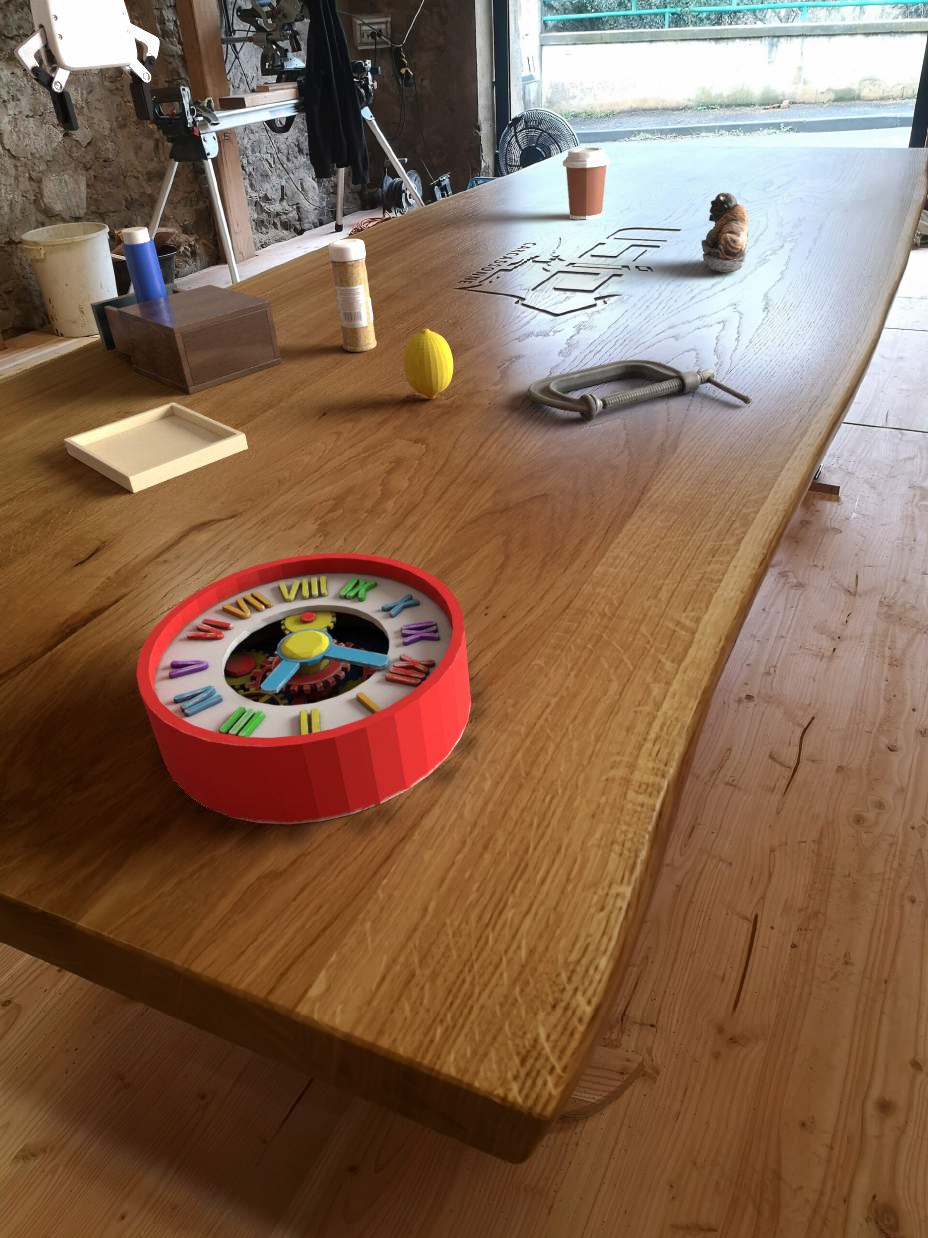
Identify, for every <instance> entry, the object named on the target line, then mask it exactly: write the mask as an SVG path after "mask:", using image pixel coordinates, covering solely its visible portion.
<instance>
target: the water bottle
mask: <svg viewBox="0 0 928 1238" xmlns="http://www.w3.org/2000/svg"><path fill="white" fill-rule="evenodd" d="M121 235H122V238H123V242H121V247H122V252H123V255H124V260H125V262H126V266H127V270H128V274H129V278H130V281H131V285H132V289H133V293H134V292H135V296H136V300H137V303H142V302H146V301H150V300H153V299H157V298H161V297H165V296H167V294H166V290H165V286H164V285H165V282H164V278H163V274H162V269H161V265H160V262H159V258H158V255H157V249H156V246H155V242H154V239H153V238H150V235H149V231H148V228H147V226H132V227H127V228H124V229H122V230H121Z"/></svg>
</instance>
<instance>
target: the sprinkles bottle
mask: <svg viewBox="0 0 928 1238" xmlns="http://www.w3.org/2000/svg"><path fill="white" fill-rule="evenodd" d="M327 248H328V254H329V260H330V263H331V266H332V274H333V279H334V281H333V282H334V290H335V297H336V303H337V310H338V317H339V324H340V327H341V333H342V335H341V336H342V341H343V344H342V347H343V349H344V350H345V351H348V352H351V353H362V352H367V351H370V350H372V349H374V348H375V347H376V346H377V339H376V334H375V327H374V314H373V308H372V300H371V297H370V296H371V295H370V288H369V281H368V272H367V266H366V246H365V242H364V240H362V239H361V238H360V239H359V238H345V239H338V240H334V241H332V242H329V243H328V246H327Z"/></svg>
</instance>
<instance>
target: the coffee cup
mask: <svg viewBox="0 0 928 1238" xmlns="http://www.w3.org/2000/svg"><path fill="white" fill-rule="evenodd" d="M610 163H611V158H610V157H609V156H608V155H607V154H606V149H605V148H603V147H599V146H598V147H595V146H594V147H593V146H589V147H578V148H573V149H569V150H568V152H567V156H566V157H565V159H564V160H562V166H563V167H565V170H566V171H565V172H566V182H567V183H566V184H567V185H566V186H567V195H568V196H567V198H568V211H569V218H570V217H571V218H570V219H572V218H574V219H572V220H578V221H580V220H579V219H586V220H585V221H588V220H596V219H599V218H601V217H602V216H603V208H604V207H603V206H604V195H605V184H606V174H607V173H606V172H607V165H609V164H610ZM600 216H601V217H600ZM598 217H599V218H598ZM593 218H595V219H593Z"/></svg>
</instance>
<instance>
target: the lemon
mask: <svg viewBox="0 0 928 1238" xmlns="http://www.w3.org/2000/svg"><path fill="white" fill-rule="evenodd" d="M404 349H405V350H404V355H403V369H404V370H403V371H404V374H405V378H406V380H407V382H408V384H409V386H410V387H411V388H412V389H413V390H414V391H415V392H416V393H418V394H421V395H424V396H425V397H427V398H428V399H429V400H434V399H436V397H437V396H438V394H440V393H442V392H443V391H445V390H446V388H447V387H448V386H449V385H450V383H451V381H452V379H453V373H454V358H453V354H452V350H451V347H450V346H449V343H448V342H447V340H446V339H445V338H444V337H443V336H442V335H440V334H439V333H437V332H435V331H431V330H430V329H429V328H422V329H421V331H419V332H417V333H416V334H415V335H413V336H412V337H411V338H410V339H409V341H408V342H407V344H406V346H405V348H404Z"/></svg>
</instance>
